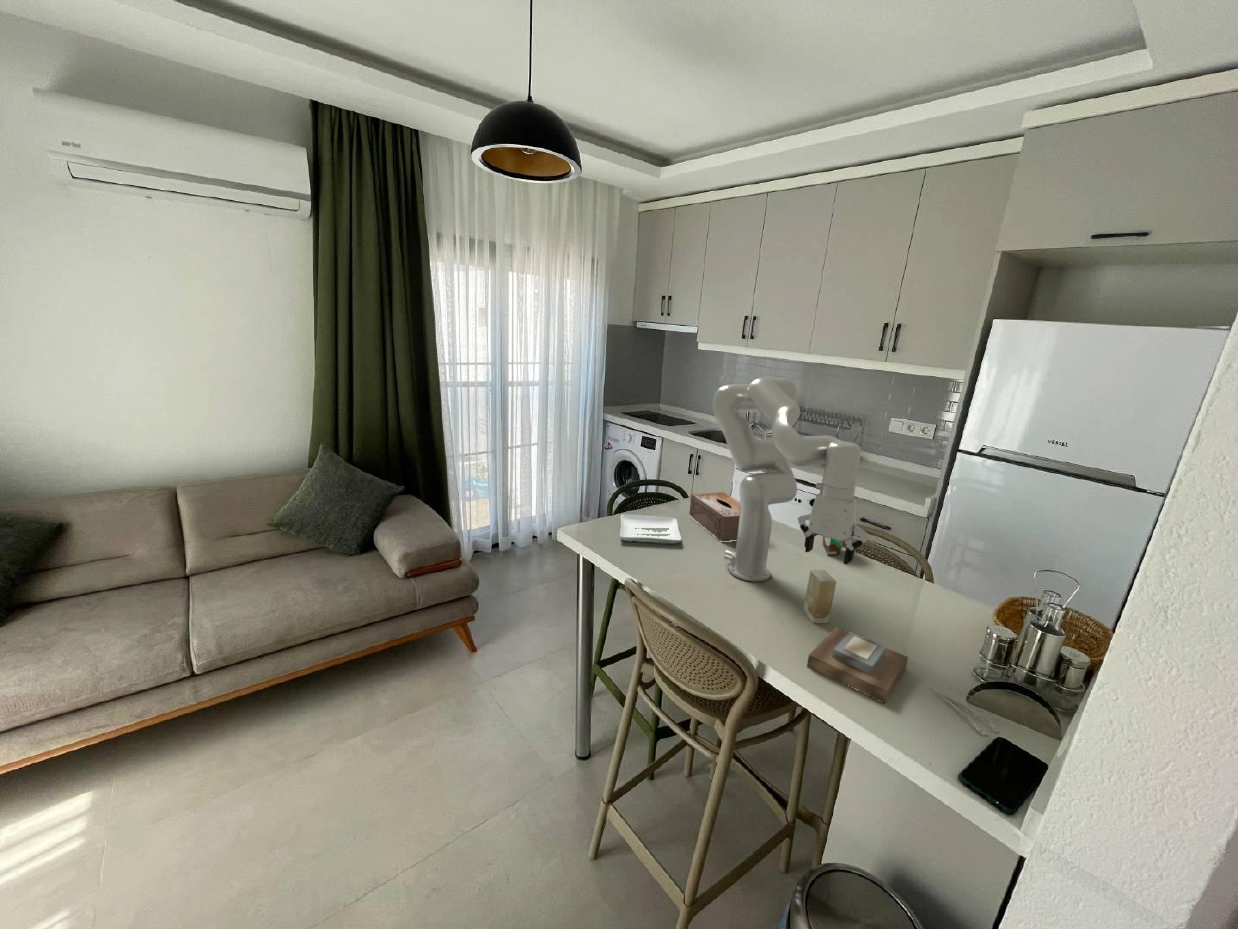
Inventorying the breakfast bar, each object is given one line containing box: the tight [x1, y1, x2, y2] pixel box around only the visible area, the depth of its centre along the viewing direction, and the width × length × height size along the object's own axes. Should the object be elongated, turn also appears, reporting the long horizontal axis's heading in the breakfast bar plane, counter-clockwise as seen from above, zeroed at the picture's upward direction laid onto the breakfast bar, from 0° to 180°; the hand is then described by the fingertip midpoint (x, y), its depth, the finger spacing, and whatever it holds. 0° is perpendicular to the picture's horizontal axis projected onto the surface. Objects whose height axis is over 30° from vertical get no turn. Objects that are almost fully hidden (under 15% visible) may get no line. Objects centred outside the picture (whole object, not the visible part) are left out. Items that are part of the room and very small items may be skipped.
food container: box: [821, 536, 844, 557], centre depth 174 cm, size 12×6×10 cm, turn 168°
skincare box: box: [802, 569, 837, 624], centre depth 131 cm, size 6×4×12 cm
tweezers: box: [925, 684, 999, 737], centre depth 104 cm, size 18×5×2 cm, turn 17°
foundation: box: [806, 626, 909, 703], centre depth 112 cm, size 16×16×5 cm
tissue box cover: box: [688, 491, 740, 541], centre depth 191 cm, size 26×14×10 cm, turn 19°
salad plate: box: [619, 514, 682, 545], centre depth 182 cm, size 21×21×3 cm
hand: (827, 556), depth 128 cm, fingers open, 9 cm apart
